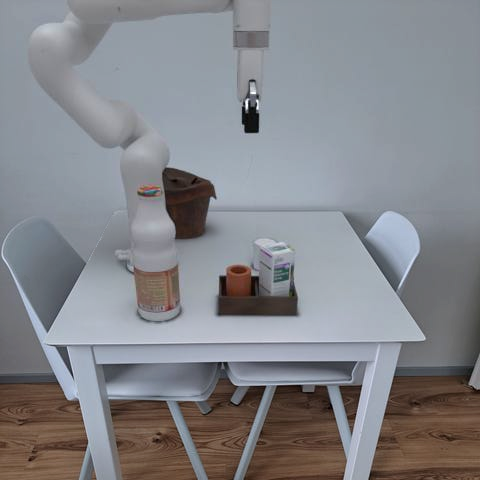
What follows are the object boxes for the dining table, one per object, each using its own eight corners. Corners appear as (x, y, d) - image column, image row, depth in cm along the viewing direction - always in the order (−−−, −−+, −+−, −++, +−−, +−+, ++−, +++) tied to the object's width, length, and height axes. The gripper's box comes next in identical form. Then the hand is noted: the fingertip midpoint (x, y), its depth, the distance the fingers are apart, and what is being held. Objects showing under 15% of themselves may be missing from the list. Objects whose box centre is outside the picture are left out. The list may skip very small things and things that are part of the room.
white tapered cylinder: (274, 273, 129) (276, 248, 125) (248, 270, 130) (249, 245, 126) (278, 262, 134) (279, 238, 131) (253, 259, 136) (254, 235, 132)
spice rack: (218, 314, 110) (218, 293, 107) (219, 296, 118) (219, 275, 115) (296, 315, 111) (298, 293, 108) (292, 296, 118) (293, 275, 115)
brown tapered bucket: (215, 243, 145) (215, 182, 136) (147, 241, 145) (142, 180, 136) (218, 221, 160) (218, 165, 151) (157, 220, 160) (152, 164, 151)
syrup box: (270, 314, 111) (273, 254, 103) (257, 302, 115) (259, 244, 108) (291, 308, 113) (296, 249, 106) (278, 297, 118) (281, 240, 110)
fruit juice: (148, 326, 105) (136, 198, 91) (131, 307, 112) (118, 185, 98) (187, 315, 110) (182, 190, 95) (169, 297, 116) (161, 178, 102)
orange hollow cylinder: (226, 311, 112) (226, 275, 107) (226, 299, 116) (226, 264, 112) (250, 311, 112) (251, 275, 107) (249, 299, 116) (250, 264, 112)
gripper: (231, 40, 110) (231, 122, 119) (234, 43, 95) (235, 136, 104) (265, 40, 110) (263, 121, 119) (273, 43, 95) (270, 136, 104)
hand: (250, 128), depth 111 cm, fingers open, 9 cm apart
